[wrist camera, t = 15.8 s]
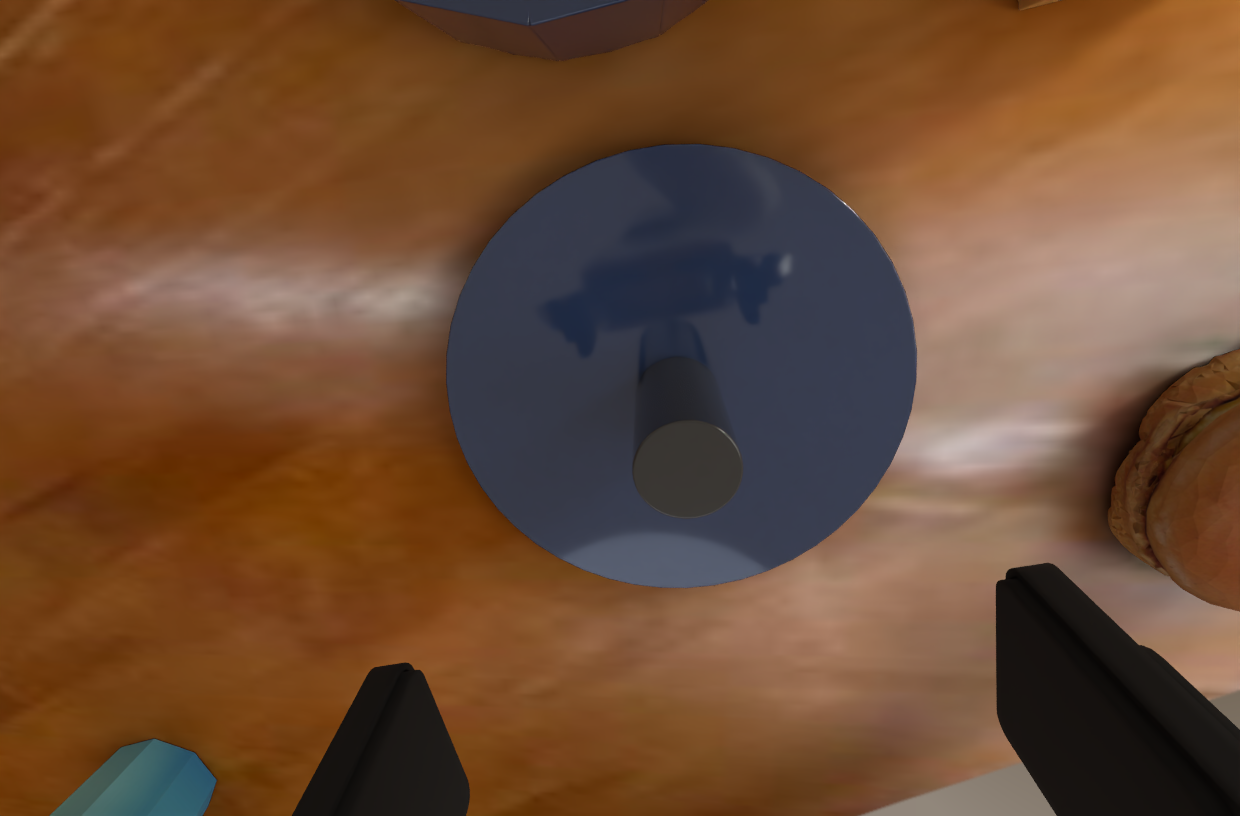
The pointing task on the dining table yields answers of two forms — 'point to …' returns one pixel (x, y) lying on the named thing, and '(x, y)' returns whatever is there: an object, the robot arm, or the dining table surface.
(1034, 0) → the bread
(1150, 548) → the burger
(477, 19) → the pot
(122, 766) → the cup
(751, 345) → the lid
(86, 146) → the dining table surface
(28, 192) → the dining table surface
